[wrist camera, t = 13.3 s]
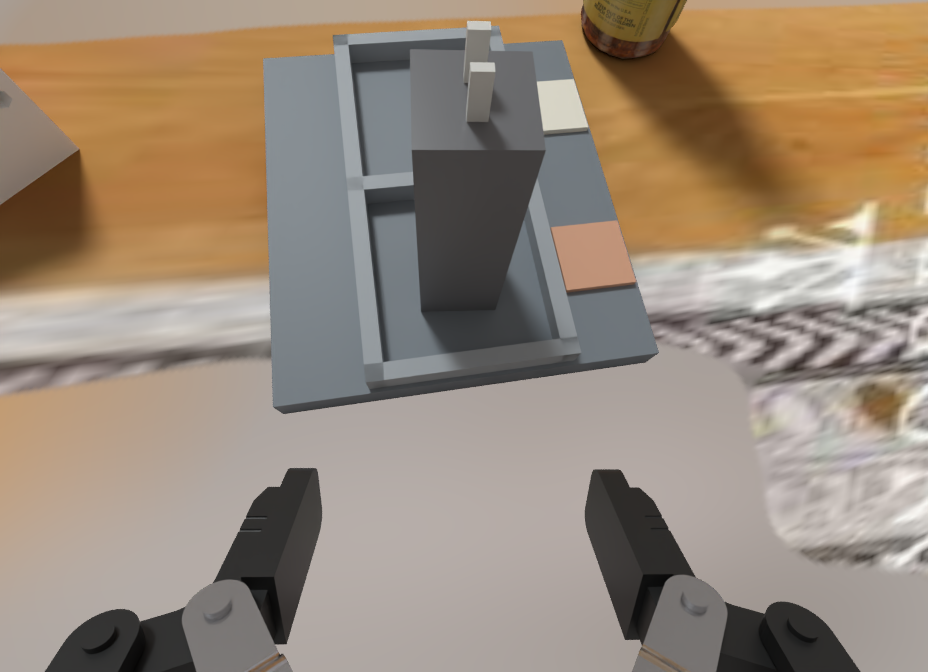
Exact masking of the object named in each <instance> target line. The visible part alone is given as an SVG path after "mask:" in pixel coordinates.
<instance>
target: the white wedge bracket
mask: <svg viewBox="0 0 928 672" xmlns="http://www.w3.org/2000/svg"><path fill="white" fill-rule="evenodd" d="M77 150H79V148H78V147H77V146H76V145H75V144H74V143H73V142H72V141H71V140H70V139H69V138H68V137H67V136H66V135H65V134H64V133H63V132H62V131H61V130H60V129H59V128H58V126H57V125H56V124H55V123H54V122H53V121H52V120H51V119H50V118H49V117H48V116H47V115H46V114H45V113H44V112H43V111H42V110H41V109H40V108H39V107H38V106H37V105H36V104H35V103H34V102H33V101H32V100H31V99H30V98H29V97H28V96H27V95H26V94H25V93H24V92H23V91H22V90H21V89H20V88H19V87H18V86H17V85H16V84H15V83H14V82H13V81H12V80H11V78H10V77H9V76H8V75H7V74H6V73H5V72H4V71H3V70H2V69H1V68H0V205H1V204H2V203H4V202H5V201H6V200H8V199H9V198H11V197H12V196H13V195H15V194H16V193H18V192H19V191H21V190H22V189H23V188H25V187H26V186H28V185H29V184H31V183H32V182H33V181H35V180H36V179H38V178H39V177H40V176H42V175H43V174H45V173H46V172H48V171H49V170H50V169H52V168H53V167H55V166H56V165H58V164H59V163H60V162H62V161H63V160H65V159H66V158H67V157H69V156H70V155H72V154H73V153H75V152H76V151H77Z"/></svg>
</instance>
